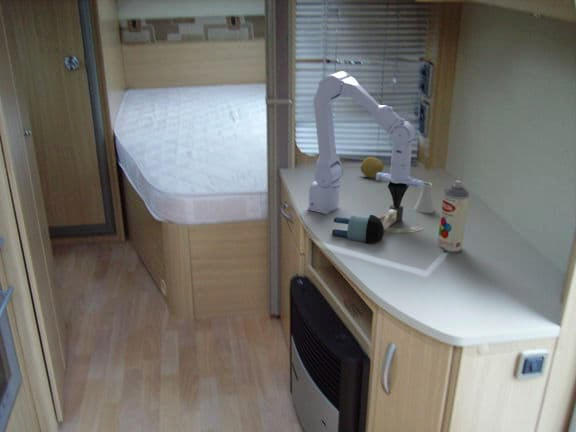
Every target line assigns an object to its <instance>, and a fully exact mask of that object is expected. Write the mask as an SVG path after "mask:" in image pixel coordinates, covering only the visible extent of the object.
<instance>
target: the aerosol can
mask: <svg viewBox="0 0 576 432" xmlns="http://www.w3.org/2000/svg"><path fill="white" fill-rule="evenodd" d="M469 201H470V192H469V191H468V190H467V189H466V188H465V187H464V186H463V185H462V181H461V180H458V179H457V180H454V183H453V184H452V185H450V186H449V187H448V188H445V189H444V191H443V194H442V201H441V203H442V204H441V209H440V210H441V211H440V218H439V227H438V237H437V246H439V247H440V248H442V249H444V250H443V253H446V254H452V255H453V254H459V253H460V252H462V250H463V244H464V235H465V230H466V223H467V222H466V221H467V215H468V214H467V213H468V209H469V208H468V207H469Z"/></svg>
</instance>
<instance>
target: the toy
mask: <svg viewBox="0 0 576 432" xmlns="http://www.w3.org/2000/svg"><path fill="white" fill-rule="evenodd" d="M379 218H380V217H378V216H376V215H375V214H374V215H373V214H369V217H364V216H356V215H350V217H349V218H348V217H347V218H346V217H341V216H340V217H339V216H336V217H334V218H333V223H337V224H344V225H347V230H343V229H336V228H334V229H332V230H331V231H332V232H331V235H334V236H338V237H345V238H347V240H350V241H351V240H353V241H360V242H363V243H365V244H375V243H379V242H380V241H381V240H382V238H383V237H384V233H385V230H384V228H383V224H382V222H381V220H380V219H379Z"/></svg>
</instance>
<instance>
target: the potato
mask: <svg viewBox="0 0 576 432" xmlns="http://www.w3.org/2000/svg"><path fill="white" fill-rule="evenodd" d="M383 170H384V165H383V162H382V161H381V160H380V159H378V158H376V157H374V156H373V157H372V156H368V157H365V159H363V161H362V162H361V165H360V172H361V173H362V174H363V175H364V176H365V177H367V178H370V179H376V174H377V173H379V172H380V173H383Z"/></svg>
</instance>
